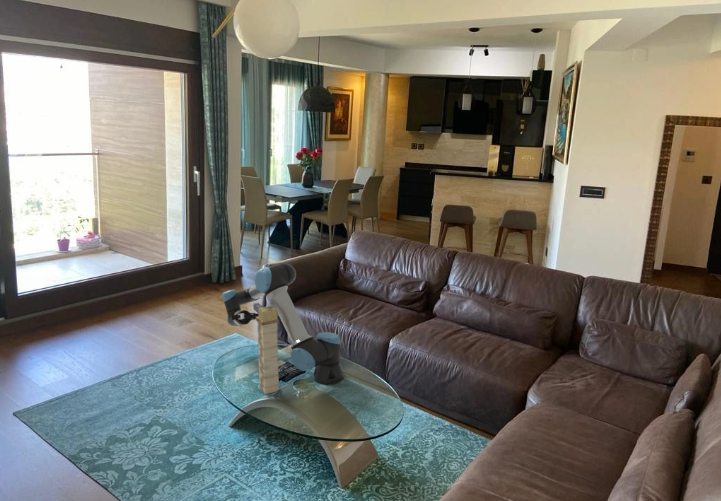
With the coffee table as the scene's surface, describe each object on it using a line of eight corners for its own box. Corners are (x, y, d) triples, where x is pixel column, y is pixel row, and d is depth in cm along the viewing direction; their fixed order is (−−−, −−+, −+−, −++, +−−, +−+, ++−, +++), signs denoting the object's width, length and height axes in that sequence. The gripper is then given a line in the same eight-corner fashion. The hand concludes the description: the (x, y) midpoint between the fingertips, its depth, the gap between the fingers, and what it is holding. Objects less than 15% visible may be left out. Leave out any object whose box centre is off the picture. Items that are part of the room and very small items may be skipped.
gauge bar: (249, 310, 264) (248, 300, 263) (262, 307, 267) (262, 297, 266) (263, 322, 249) (262, 311, 248) (277, 319, 252) (277, 309, 251)
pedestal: (258, 387, 264) (255, 316, 255) (273, 383, 268) (271, 313, 259) (264, 394, 258) (261, 322, 249) (280, 390, 262) (278, 319, 253)
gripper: (265, 323, 294) (280, 320, 276) (219, 326, 281) (232, 324, 263) (264, 309, 295) (279, 305, 277) (218, 312, 282) (231, 308, 264)
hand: (256, 315), depth 270 cm, fingers open, 13 cm apart
